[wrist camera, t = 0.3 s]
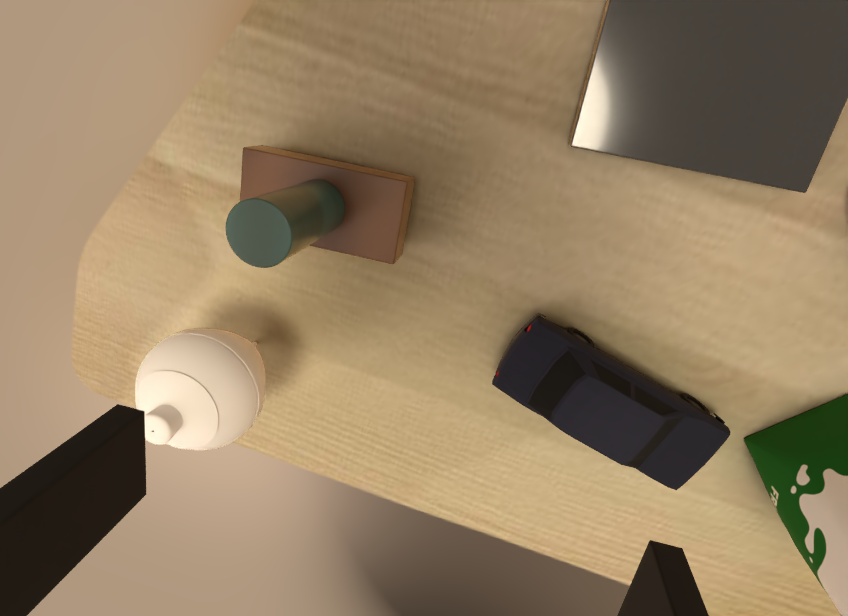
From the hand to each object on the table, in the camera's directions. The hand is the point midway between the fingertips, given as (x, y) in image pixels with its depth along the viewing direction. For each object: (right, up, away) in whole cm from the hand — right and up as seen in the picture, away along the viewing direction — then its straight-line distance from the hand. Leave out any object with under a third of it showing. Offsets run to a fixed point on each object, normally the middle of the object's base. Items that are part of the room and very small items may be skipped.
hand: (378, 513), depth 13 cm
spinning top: (-11, +3, +26) cm, 29 cm away
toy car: (+13, 0, +23) cm, 26 cm away
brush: (-4, +13, +21) cm, 25 cm away
